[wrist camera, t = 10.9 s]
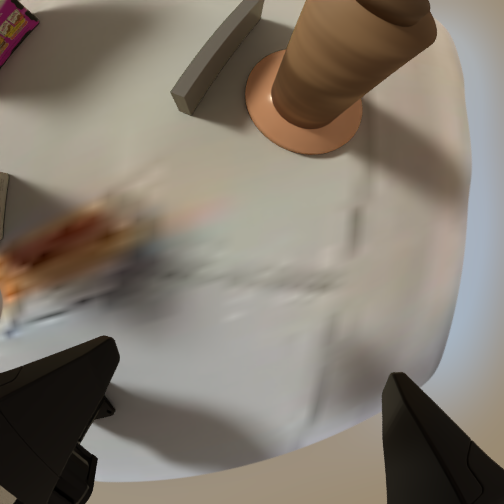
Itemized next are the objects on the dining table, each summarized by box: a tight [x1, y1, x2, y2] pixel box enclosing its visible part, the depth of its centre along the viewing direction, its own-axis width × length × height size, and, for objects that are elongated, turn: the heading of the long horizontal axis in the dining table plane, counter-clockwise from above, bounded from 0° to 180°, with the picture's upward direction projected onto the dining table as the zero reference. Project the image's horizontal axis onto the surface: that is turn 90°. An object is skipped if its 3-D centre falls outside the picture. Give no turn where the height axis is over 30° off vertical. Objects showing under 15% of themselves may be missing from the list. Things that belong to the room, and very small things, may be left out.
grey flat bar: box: [171, 0, 264, 116], centre depth 16 cm, size 11×1×4 cm, turn 153°
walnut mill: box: [271, 0, 437, 129], centre depth 11 cm, size 5×5×13 cm
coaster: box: [245, 50, 362, 155], centre depth 18 cm, size 9×9×1 cm
